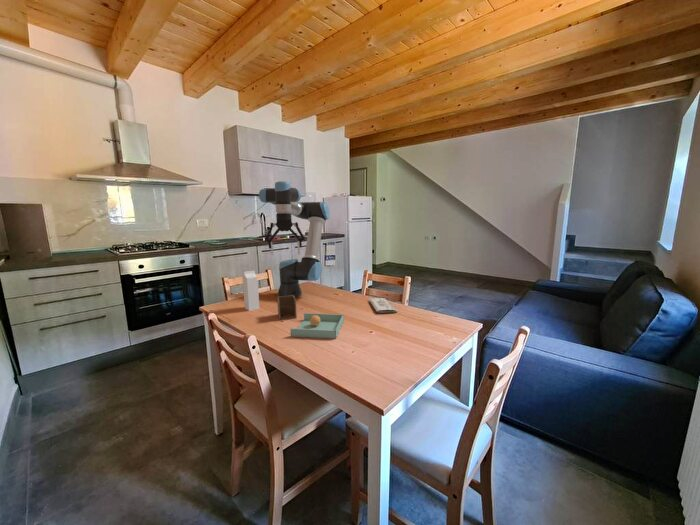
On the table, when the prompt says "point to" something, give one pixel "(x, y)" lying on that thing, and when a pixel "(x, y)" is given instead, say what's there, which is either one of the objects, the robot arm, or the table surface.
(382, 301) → the newspaper
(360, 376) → the table surface
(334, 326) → the tray
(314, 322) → the ball
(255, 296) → the milk
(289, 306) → the sleeve
